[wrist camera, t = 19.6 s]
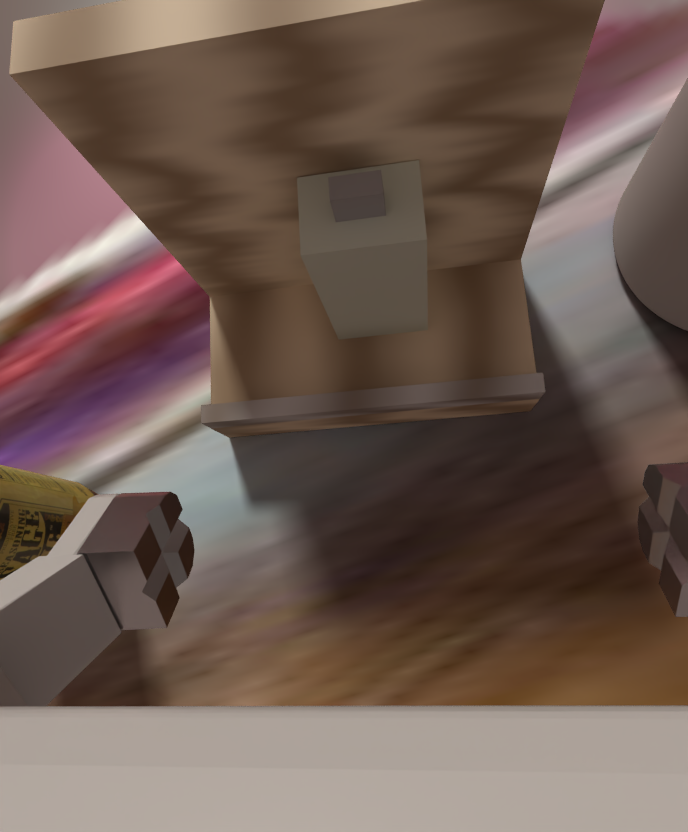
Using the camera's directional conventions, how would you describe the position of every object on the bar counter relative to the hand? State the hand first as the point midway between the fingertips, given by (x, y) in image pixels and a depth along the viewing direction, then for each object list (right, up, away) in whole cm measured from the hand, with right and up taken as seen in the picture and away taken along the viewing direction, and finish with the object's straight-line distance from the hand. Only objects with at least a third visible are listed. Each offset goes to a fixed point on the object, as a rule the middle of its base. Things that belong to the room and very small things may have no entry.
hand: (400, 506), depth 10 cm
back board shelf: (+1, +6, +25) cm, 26 cm away
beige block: (+1, +8, +23) cm, 24 cm away
